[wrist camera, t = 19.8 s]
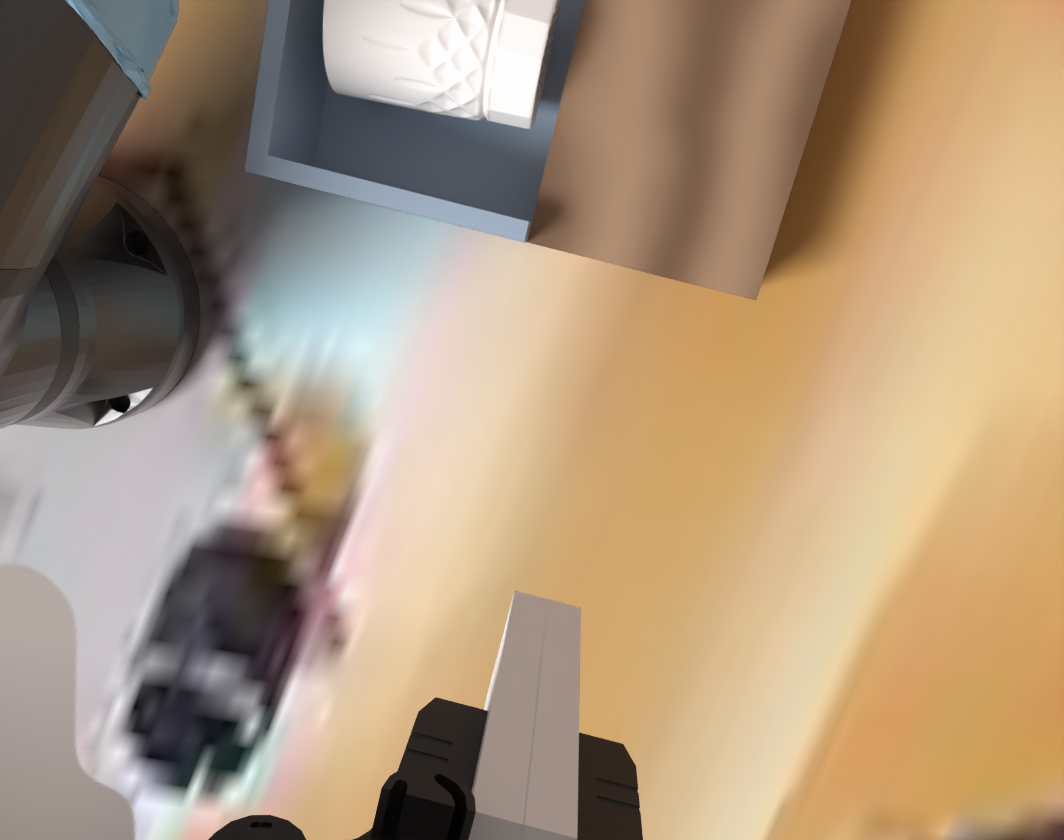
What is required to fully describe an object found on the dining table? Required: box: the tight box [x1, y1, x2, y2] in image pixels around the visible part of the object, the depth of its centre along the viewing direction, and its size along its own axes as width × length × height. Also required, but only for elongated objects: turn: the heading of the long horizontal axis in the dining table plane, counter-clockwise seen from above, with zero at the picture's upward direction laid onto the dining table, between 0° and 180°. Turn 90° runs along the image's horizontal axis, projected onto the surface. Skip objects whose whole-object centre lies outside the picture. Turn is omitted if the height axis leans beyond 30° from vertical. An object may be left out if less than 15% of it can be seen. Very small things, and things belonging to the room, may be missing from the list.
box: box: [244, 0, 585, 242], centre depth 38 cm, size 14×18×7 cm
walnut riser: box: [527, 0, 852, 300], centre depth 39 cm, size 12×18×5 cm, turn 166°
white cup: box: [323, 0, 562, 129], centre depth 37 cm, size 8×8×10 cm
